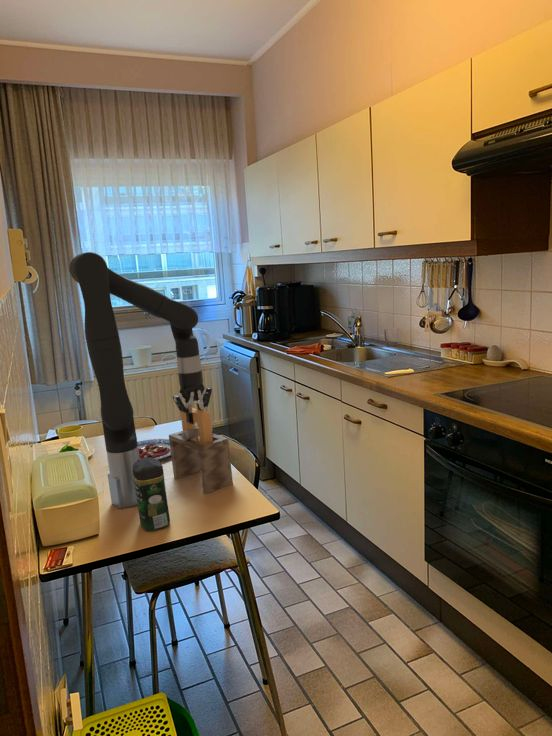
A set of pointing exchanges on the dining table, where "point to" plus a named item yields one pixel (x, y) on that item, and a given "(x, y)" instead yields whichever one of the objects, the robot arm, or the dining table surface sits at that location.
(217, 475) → the shelf stand
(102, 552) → the dining table surface
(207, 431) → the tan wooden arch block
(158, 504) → the coffee jar
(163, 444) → the ceramic plate
